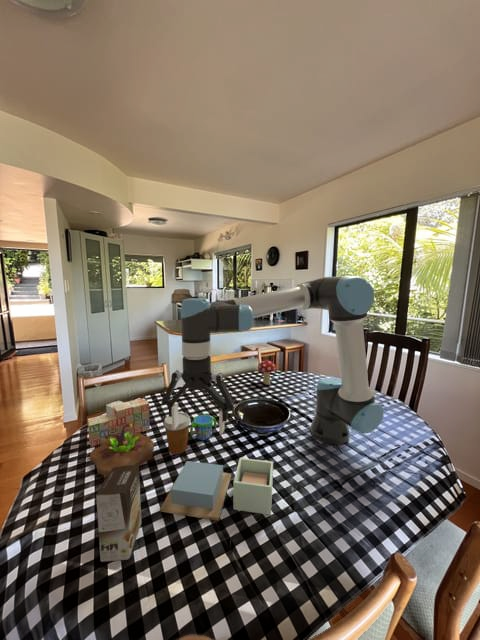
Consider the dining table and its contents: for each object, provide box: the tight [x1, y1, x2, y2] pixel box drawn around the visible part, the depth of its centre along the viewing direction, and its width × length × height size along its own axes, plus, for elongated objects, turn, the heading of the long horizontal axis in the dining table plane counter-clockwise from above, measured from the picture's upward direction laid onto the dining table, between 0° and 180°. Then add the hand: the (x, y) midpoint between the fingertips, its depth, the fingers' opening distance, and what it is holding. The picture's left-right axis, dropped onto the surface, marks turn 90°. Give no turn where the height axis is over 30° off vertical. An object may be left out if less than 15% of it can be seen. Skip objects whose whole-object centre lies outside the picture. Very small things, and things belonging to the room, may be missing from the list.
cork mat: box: [159, 469, 232, 521], centre depth 76 cm, size 16×16×1 cm
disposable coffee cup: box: [163, 411, 191, 455], centre depth 95 cm, size 10×10×12 cm
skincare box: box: [105, 400, 125, 414], centre depth 116 cm, size 6×6×7 cm
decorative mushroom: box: [257, 359, 277, 386], centre depth 157 cm, size 11×11×15 cm
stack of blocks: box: [87, 397, 151, 448], centre depth 103 cm, size 21×6×12 cm, turn 125°
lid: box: [170, 460, 224, 509], centre depth 75 cm, size 12×12×4 cm
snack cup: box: [189, 414, 217, 441], centre depth 103 cm, size 11×8×7 cm
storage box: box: [232, 457, 274, 516], centre depth 74 cm, size 10×10×8 cm
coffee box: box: [95, 465, 142, 562], centre depth 60 cm, size 9×6×16 cm
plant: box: [89, 424, 155, 477], centre depth 92 cm, size 20×20×11 cm
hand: (198, 429), depth 73 cm, fingers open, 13 cm apart
